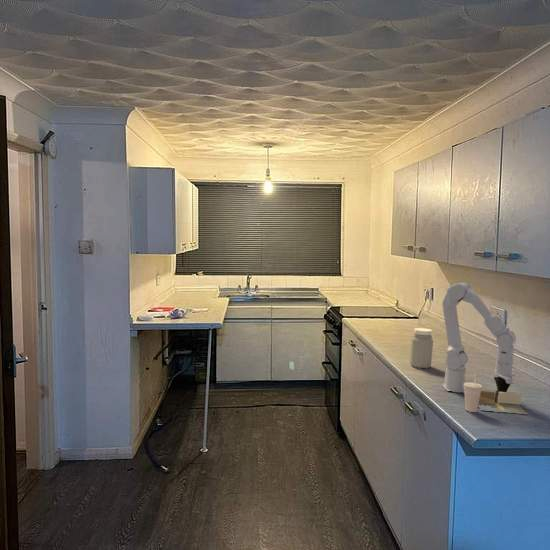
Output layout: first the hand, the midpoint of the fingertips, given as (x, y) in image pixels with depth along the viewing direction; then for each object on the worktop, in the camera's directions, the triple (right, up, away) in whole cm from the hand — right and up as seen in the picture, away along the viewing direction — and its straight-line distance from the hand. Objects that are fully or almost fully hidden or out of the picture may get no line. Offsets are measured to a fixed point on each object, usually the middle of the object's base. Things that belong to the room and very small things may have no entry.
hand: (501, 396), depth 193 cm
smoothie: (-17, -2, -14) cm, 22 cm away
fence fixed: (-8, -1, -4) cm, 9 cm away
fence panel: (+1, -1, -5) cm, 5 cm away
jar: (-18, +3, +45) cm, 49 cm away
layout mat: (-5, -2, -6) cm, 8 cm away
